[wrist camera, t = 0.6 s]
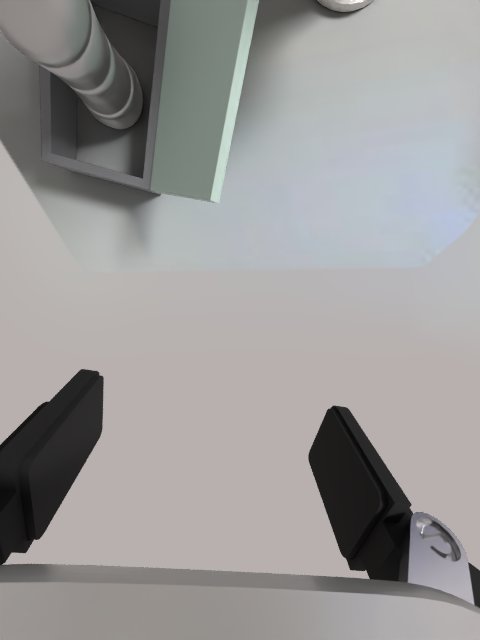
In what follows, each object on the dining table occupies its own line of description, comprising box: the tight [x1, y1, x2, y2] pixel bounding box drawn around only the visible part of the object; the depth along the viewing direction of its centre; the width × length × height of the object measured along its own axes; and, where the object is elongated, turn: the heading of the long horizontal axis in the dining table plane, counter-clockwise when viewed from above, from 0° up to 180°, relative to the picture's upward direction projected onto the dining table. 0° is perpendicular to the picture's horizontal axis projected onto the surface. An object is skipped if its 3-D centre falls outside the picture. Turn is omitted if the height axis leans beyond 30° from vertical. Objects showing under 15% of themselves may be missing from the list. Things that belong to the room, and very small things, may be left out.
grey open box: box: [39, 0, 171, 195], centre depth 28 cm, size 18×12×5 cm, turn 166°
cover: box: [150, 0, 259, 203], centre depth 23 cm, size 18×12×1 cm
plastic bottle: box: [0, 0, 143, 129], centre depth 21 cm, size 6×7×20 cm
